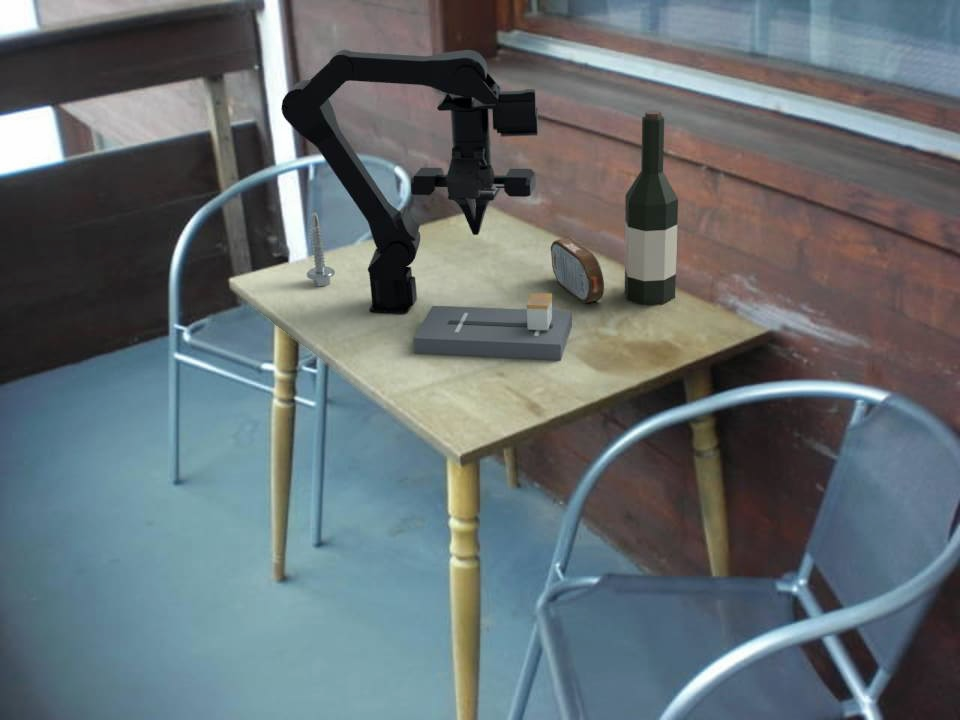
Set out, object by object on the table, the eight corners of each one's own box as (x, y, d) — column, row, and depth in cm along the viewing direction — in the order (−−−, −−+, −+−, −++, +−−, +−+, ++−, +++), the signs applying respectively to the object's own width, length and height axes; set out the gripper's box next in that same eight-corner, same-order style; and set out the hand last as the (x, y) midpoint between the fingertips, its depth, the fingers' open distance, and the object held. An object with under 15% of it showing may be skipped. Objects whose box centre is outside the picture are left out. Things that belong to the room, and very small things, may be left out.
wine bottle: (641, 309, 181) (644, 122, 168) (614, 291, 188) (615, 110, 175) (685, 298, 184) (692, 114, 171) (657, 281, 191) (661, 102, 178)
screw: (317, 291, 195) (302, 283, 198) (341, 283, 197) (326, 276, 201) (308, 218, 189) (293, 212, 192) (333, 211, 191) (318, 205, 195)
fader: (527, 329, 170) (526, 304, 168) (532, 317, 174) (531, 292, 172) (548, 330, 169) (547, 305, 167) (552, 317, 173) (551, 293, 171)
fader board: (414, 353, 171) (413, 337, 170) (433, 320, 182) (432, 305, 180) (560, 360, 167) (560, 343, 166) (571, 325, 177) (571, 310, 176)
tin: (605, 307, 183) (605, 258, 179) (588, 311, 182) (587, 261, 178) (565, 276, 196) (564, 229, 192) (548, 279, 195) (547, 232, 191)
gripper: (397, 151, 169) (405, 251, 176) (522, 152, 165) (525, 254, 172) (416, 131, 179) (423, 226, 186) (534, 132, 175) (537, 228, 182)
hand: (476, 234), depth 181 cm, fingers closed
